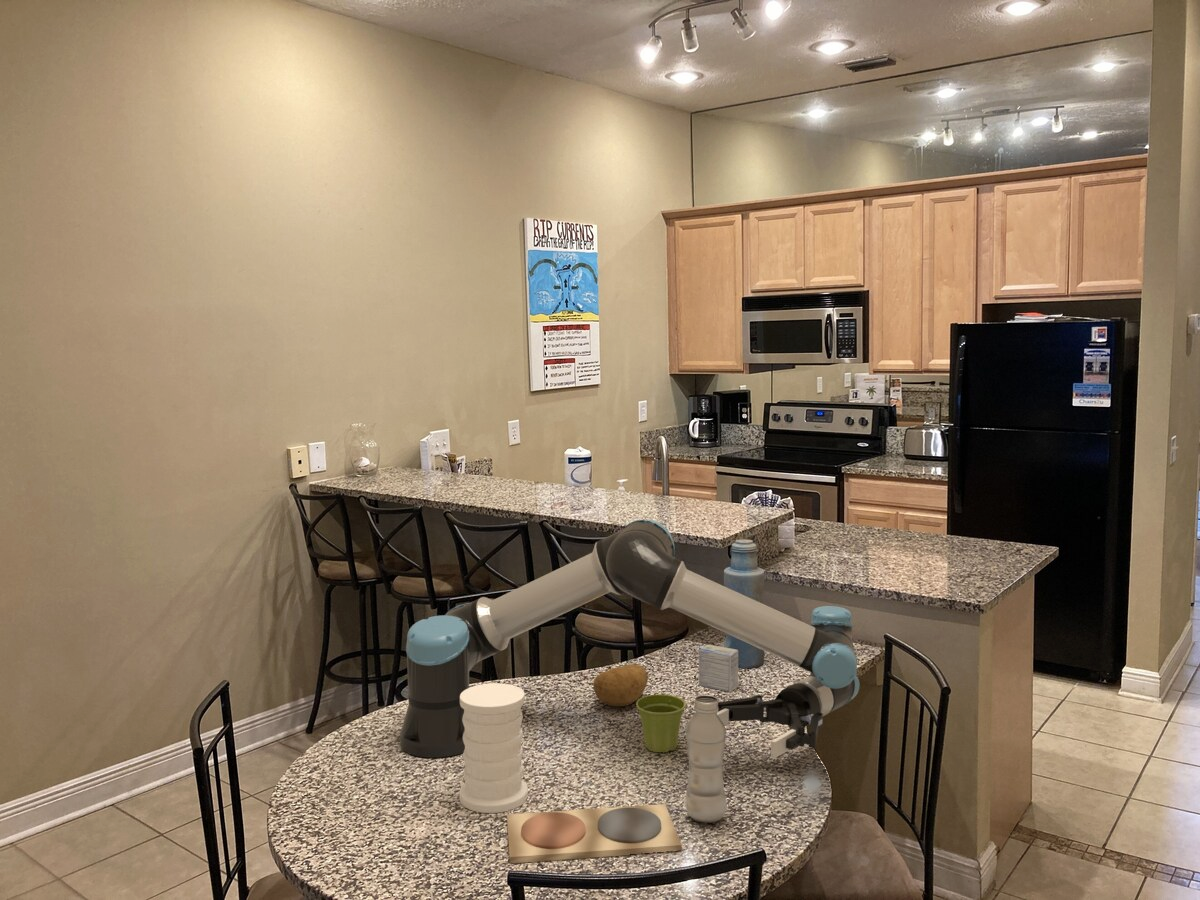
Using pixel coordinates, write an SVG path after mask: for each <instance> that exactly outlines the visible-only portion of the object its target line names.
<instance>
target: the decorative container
mask: <svg viewBox="0 0 1200 900" xmlns="http://www.w3.org/2000/svg"><path fill="white" fill-rule="evenodd" d="M525 694H526V693H525V691H524V690H523V689H522V688H521V687H518V686H516V685H512V684H508V683H501V682H500V683H499V682H498V683H496V682H495V683H493V682H492V683H483V684H478V685H474V686H469V688H468V689H466V690H464V691H463V692H462V693H461V694H460V706H461V707H462V708H463V709H464V714H463V718H462V721H463V725H464V727H465V731H464V733H463V742H464V745H465V749H464V752H463V753H462V759H463V761H464V762H463V763H464V768H463V773H462V774H463V775H462V776H463V780H464V782H465V783H463V785H461V787H460V789H459V802H460V804H461V805H462V806H463V807H464V808H466V809H468V810H470V811H472V812H476V813H481V814H482V813H483V814H498V813H505V812H508V811H511V810H514V809H517V808H519V807H520V806H521V805H523V804H525V802H526V801H527V799H528V795H529V791H528V790H529V787H528V784H527V783H526V782H525V780H523V774H524V768H523V764H522V760H523V756H524V750H523V746H522V742H523V738H524V734H523V729H522V723H523V717H524V715H523V711H522V709H521V708H522V707H523V705H524V704H525V700H526V699H525V697H526V696H525Z"/></svg>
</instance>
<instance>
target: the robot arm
mask: <svg viewBox="0 0 1200 900" xmlns="http://www.w3.org/2000/svg"><path fill="white" fill-rule="evenodd" d="M675 547H676V546H675V542H674V539H673V536H672V535H671V533H670V531H669V530H668V528H667V527H665V526H664V525H663V524H662V523H660V522H658V521H656V520H652V519H648V518H647V519H644V518H643V519H637V520H633V521H632V522H629V523H627V524H626V526H625V525H624V527H623V528H622V529H620V530H619V531H617V532H614V533H612V534H611V535H609V536H607V537H604V538H602V539H600V540H598V541H596V542H595V543H594V547H593V550H592V552H589V553H588V554H586V555H584V556H582V557H579V558H578V559H576V560H574V561H572V562H569V563H567V564H566V565H564V566H562V567H560V568H559V567H558V568H557V569H555V570H553V571H550V572H549V573H547V574H544V575H543V576H540V577H539V578H536V579H534V580H532V581H530V582H527V583H526V584H523V585H521V586H519V587H517V588H515V589H513V590H511V591H509V592H506V593H505V594H503V595H501V596H499V597H497V598H494V599H490V598H488V597H485V596H482V597H480V598H478V599H475V600H474V601H471V602H467V603H464V604H459V605H456V606H454V607H453V608H451V609H450V610H448V611H447V612H446V613H445V614H444V615H443V614H442V615H434V616H430V617H428V618H426V619H425V618H423V619H420V620H418V621H416V622H415V623H414V624H412V626H410V628H409V630H408V631H407V636H406V644H405V645H406V646H405V652H406V663H407V665H406V666H407V668H406V669H407V670H406V671H407V693H408V697H407V699H408V705H407V709H406V712H405V715H404V719H403V722H402V726H401V729H400V733H399V742H400V743H399V744H400V748H401V749H402V750H403V751H404V752H405V753H407V754H409V755H412V756H415V757H421V758H431V759H432V758H433V759H435V758H447V757H451V756H456V755H460V754H463V753H464V749H465V745H464V742H463V733H464V731H465V727H464V725H463V721H462V718H463V714H464V709H463V708H462V707H461V706H460V694H461V693H462V692H463V691H464V690H466V689H468V688H470V672H471V670H472V669H473V668H474V667H475V665H477V664H478V663H479V662H481V661H483V660H485V659H487V658H489V657H491V656H494V655H496V654H498V653H501V652H502V651H504V650H506V649H507V648H508V645H509V644H510V640H511V639H513V638H514V637H517V636H519V635H521V634H524V633H525V632H527V631H530V630H532V629H534V628H536V627H538V626H540V625H543V624H544V623H547V622H549V621H551V620H553V619H555V618H558V617H559V616H562V615H564V614H566V613H568V612H571V611H572V610H574V609H577V608H579V607H581V606H583V605H585V604H587V603H589V602H592V601H594V600H596V599H599V598H601V597H602V596H604V595H607V594H608V593H612V594H615V595H617V596H623V595H625V594H627V595H629V596H631V597H632V598H634V599H637V600H639V601H641V602H643V603H644V604H645V603H646V604H647V605H650V606H653V607H655V608H657V609H659V610H661V611H663V610H665V609H669V608H670V609H672V610H674V611H676V612H679V613H681V614H683V615H686V616H687V617H690V618H692V619H694V620H696V621H699V622H700V623H703V624H705V625H707V626H709V627H712V628H714V629H716V630H718V631H721V632H723V633H724V634H726V633H727V634H729V635H731V636H733V637H735V638H738V639H740V640H742V641H744V642H746V643H748V644H751V645H753V646H755V647H757V648H759V649H762V650H764V652H766V653H768V654H770V655H773V656H775V657H777V658H779V659H782V660H783V661H785V662H788V663H790V664H792V665H794V666H796V667H799V668H801V669H803V670H805V671H807V672H809V673H810V674H809V675H808V676H807V677H805V678H802V679H801V680H798V681H796V682H794V683H793V684H791V685H789V686H787V687H785V688H783V689H782V690H781V691H779V693H778V694H777V696H776V697H775V699H774V698H773V699H772V700H771V699H770V700H767V701H766V700H763V695H762V694H756V695H753V696H751V697H745V698H739V699H737V698H736V699H731V700H726V701H718V708H719V709H718V712H717V715H718V716H719V718H720V719H721V720H722V722H723V724H724V726H725V727H726V726H728V725H729V724H730V722H740V721H743V722H744V721H745V722H747V721H759V722H760V723H775V724H780V725H783V726H787V727H788V728H789V730H788V731H787V732H784V733H783V734H781V735H779V736H777V737H776V738H774V739H772V740H771V741H770V758H773V759H776V758H777V757H779V756H781V755H783V754H785V753H786V752H788V751H789V750H794V749H796V748H798V747H803V746H805V745H808V748H810V749H815V748H817V742H818V736H819V735H818V734H819V731H820V730H821V729H823V718H824V716H826V715H828V714H830V713H832V712H834V711H836V710H838V709H840V708H842V707H844V706H846V705H847V704H848V703H850V701H852V700H853V699H854V698H856V697H857V695H858V694H859V692H860V691H859V690H860V683H861V682H860V680H859V676H858V674H857V671H858V657H857V655H856V653H855V648H854V647H855V646H854V641H853V627H854V625H853V622H852V621H853V620H852V619H853V618H852V616H853V615H852V612H851V611H850V610H848V609H847V608H844V607H841V606H834V605H823V606H818V607H815V608H813V610H812V613H811V622H810V624H808V623H806V622H804V621H801V620H799V619H798V618H796V617H795V618H794V617H792V616H791V615H789V614H786V613H784V612H781V611H779V610H777V609H775V608H773V607H771V606H769V605H766V604H764V603H763V602H761V603H760V602H758V601H755V600H753V599H751V598H749V597H747V596H744V595H742V594H740V593H738V592H736V591H733V590H731V589H729V588H727V587H725V586H724V585H722V584H720V583H718V582H715V581H714V580H711V579H709V578H706V577H704V576H702V575H700V574H698V573H695V572H694V571H692V570H689V569H687V567H686V565H685V562H684V561H683V560H680V559H678V558H677V557H675V553H676V552H675V550H676V549H675ZM764 714H765V715H766V716H765V715H764ZM807 726H809V729H808V732H805V731H806V730H805V729H806V727H807Z"/></svg>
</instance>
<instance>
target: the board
mask: <svg viewBox="0 0 1200 900" xmlns="http://www.w3.org/2000/svg"><path fill="white" fill-rule="evenodd" d="M506 822H507V823H506V824H507V836H508V837H507V840H508V854H509V855H508V856H509V864H520V863H521V864H522V863H535V862H550V861H551V862H552V861H563V860H565V861H566V860H577V859H580V860H581V859H591V858H592V859H593V858H594V859H595V858H607V857H619V856H631V855H630V854H636V855H642V854H641V853H650V854H654V853H653V852H656V853H655V854H658V853H657V852H664V853H667V852H666V851H674V850H676V851H677V850H682V851H683V844H682V841H681V840H680V837H679V835H678V832H677V829H676V828H675V825H674V823H673V820H672V817H671V814H670V812H669V811H668V808H667V806H666V803H662V804H661V803H660V804H659V803H658V804H647V805H633V806H632V805H629V806H615V807H600V808H585V809H572V810H571V809H570V810H555V811H554V810H553V811H552V810H551V811H540V812H524V813H523V812H522V813H510V814H509V813H507V814H506Z"/></svg>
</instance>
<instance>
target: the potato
mask: <svg viewBox="0 0 1200 900" xmlns="http://www.w3.org/2000/svg"><path fill="white" fill-rule="evenodd" d="M648 680H649V675H648V671H647V669H646V668H645V667H644V666H643V665H638V664H634V663H632V664H626V665H621V666H616V667H613V668H610V669H608V670H605V671H602V672H601V673H599V674H597V675H596V677H595V678H594V680H593V684H592V686H593V690H594V693H595V696H596V698H597V699H598V700H599V701H600V702H602V703H604V704H606V705H610V706H613V707H626V706H628V705H631V704H633V703H634V702H637V700H638V699H640V698H641V696H642V694H644V691H645V689H646V687H647V684H648Z"/></svg>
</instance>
